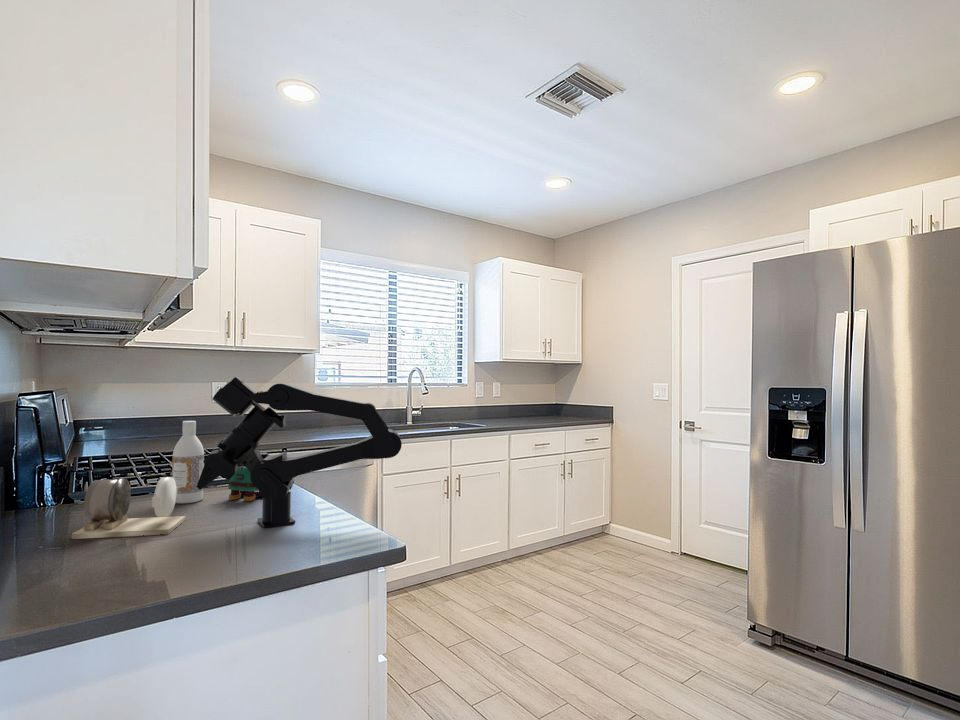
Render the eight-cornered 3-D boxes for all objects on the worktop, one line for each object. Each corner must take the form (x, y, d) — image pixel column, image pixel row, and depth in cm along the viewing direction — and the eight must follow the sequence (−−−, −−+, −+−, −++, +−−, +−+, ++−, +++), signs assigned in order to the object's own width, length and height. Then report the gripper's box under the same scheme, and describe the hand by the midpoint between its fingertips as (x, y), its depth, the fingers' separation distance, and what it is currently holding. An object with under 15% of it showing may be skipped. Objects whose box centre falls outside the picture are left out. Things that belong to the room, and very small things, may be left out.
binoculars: (279, 457, 142) (253, 459, 133) (275, 498, 141) (249, 502, 132) (251, 455, 145) (224, 457, 136) (248, 495, 144) (220, 499, 134)
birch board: (185, 520, 116) (185, 510, 116) (168, 534, 106) (168, 523, 106) (97, 524, 112) (97, 514, 112) (71, 539, 102) (71, 527, 102)
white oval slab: (177, 510, 115) (178, 473, 116) (160, 522, 106) (161, 481, 106) (168, 510, 115) (169, 473, 115) (151, 522, 106) (152, 482, 106)
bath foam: (164, 503, 131) (166, 422, 131) (184, 497, 138) (186, 419, 138) (190, 504, 130) (192, 422, 130) (209, 498, 137) (210, 420, 137)
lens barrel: (130, 514, 113) (131, 474, 113) (111, 525, 105) (112, 482, 105) (103, 515, 112) (104, 475, 112) (82, 527, 104) (84, 483, 104)
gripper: (277, 463, 107) (222, 525, 105) (283, 445, 125) (236, 497, 123) (232, 429, 105) (174, 491, 102) (245, 415, 123) (196, 468, 120)
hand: (198, 487), depth 112 cm, fingers closed
